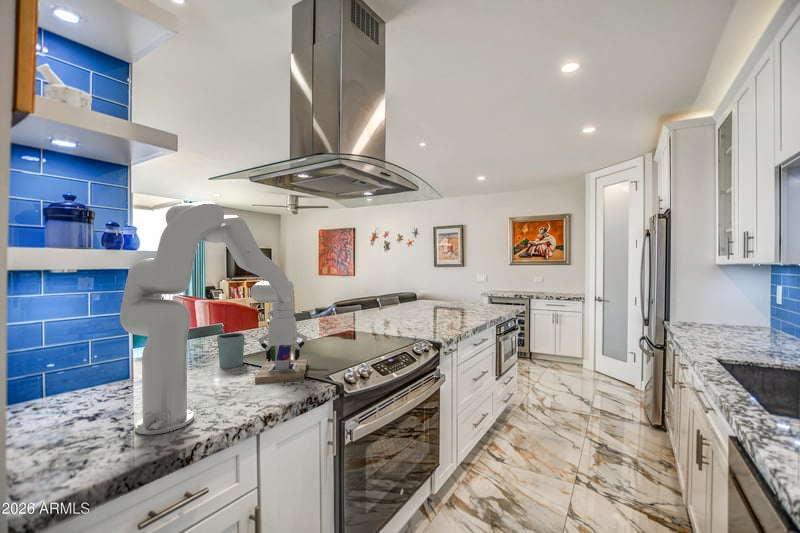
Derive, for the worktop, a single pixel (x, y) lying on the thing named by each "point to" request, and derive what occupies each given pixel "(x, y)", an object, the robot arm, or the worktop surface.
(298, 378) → the slotted board
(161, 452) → the worktop surface
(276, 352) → the energy drink
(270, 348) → the bell pepper
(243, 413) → the worktop surface
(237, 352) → the grey teal cup
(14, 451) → the worktop surface
